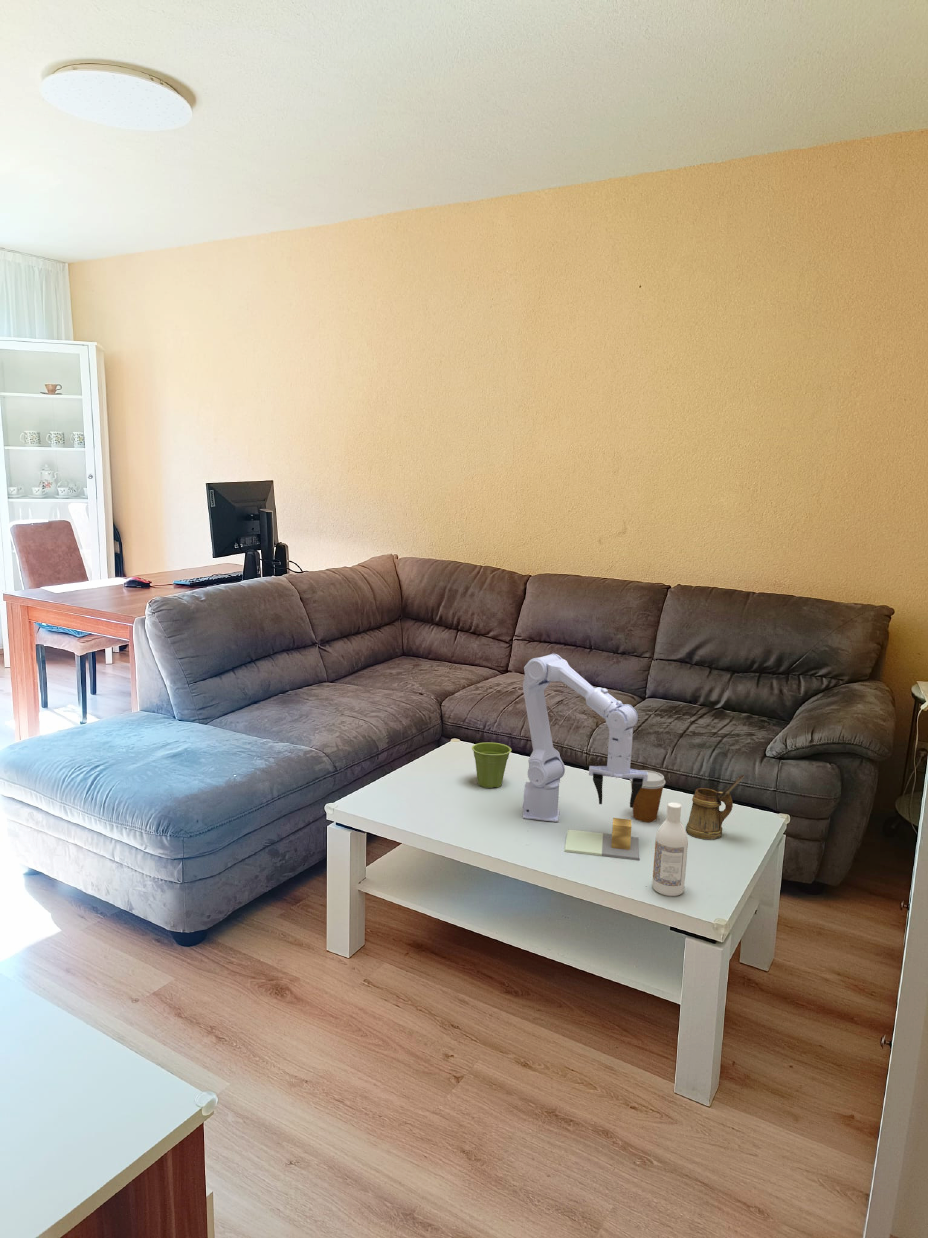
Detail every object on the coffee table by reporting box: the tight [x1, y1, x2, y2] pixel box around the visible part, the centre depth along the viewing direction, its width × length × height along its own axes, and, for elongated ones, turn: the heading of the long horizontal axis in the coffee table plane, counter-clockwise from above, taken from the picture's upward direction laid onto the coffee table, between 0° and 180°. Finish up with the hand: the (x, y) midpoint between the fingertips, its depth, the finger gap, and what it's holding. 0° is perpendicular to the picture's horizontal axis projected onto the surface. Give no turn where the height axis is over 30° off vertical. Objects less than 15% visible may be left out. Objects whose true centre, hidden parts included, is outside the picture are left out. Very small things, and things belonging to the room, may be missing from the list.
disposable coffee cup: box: [629, 769, 666, 823], centre depth 218 cm, size 10×10×12 cm
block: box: [611, 817, 633, 850], centre depth 200 cm, size 4×4×6 cm
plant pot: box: [471, 741, 512, 789], centre depth 239 cm, size 12×12×11 cm
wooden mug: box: [685, 774, 745, 841], centre depth 208 cm, size 9×14×18 cm, turn 55°
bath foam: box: [651, 802, 689, 897], centre depth 178 cm, size 7×7×20 cm
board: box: [564, 829, 640, 861], centre depth 201 cm, size 18×12×1 cm, turn 79°
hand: (615, 804), depth 204 cm, fingers open, 7 cm apart
